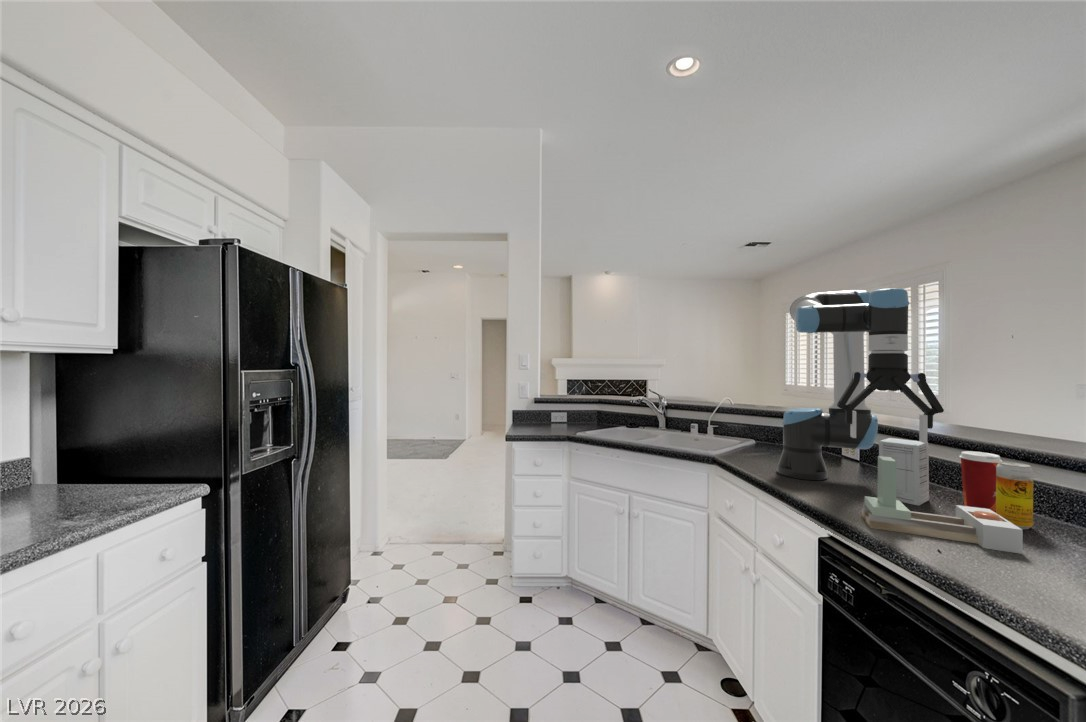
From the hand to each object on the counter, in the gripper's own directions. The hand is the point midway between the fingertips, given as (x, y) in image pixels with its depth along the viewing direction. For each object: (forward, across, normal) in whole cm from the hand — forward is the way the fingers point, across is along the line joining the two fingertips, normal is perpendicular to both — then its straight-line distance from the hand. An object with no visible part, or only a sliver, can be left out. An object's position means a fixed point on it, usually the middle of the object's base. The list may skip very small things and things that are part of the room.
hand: (887, 439), depth 104 cm
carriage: (+18, 0, 0) cm, 18 cm away
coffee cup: (+21, +26, +26) cm, 42 cm away
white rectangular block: (+21, +18, 0) cm, 27 cm away
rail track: (+21, +6, 0) cm, 21 cm away
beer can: (+21, +28, +14) cm, 38 cm away
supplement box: (+21, +10, +27) cm, 36 cm away
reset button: (+19, +18, 0) cm, 26 cm away
